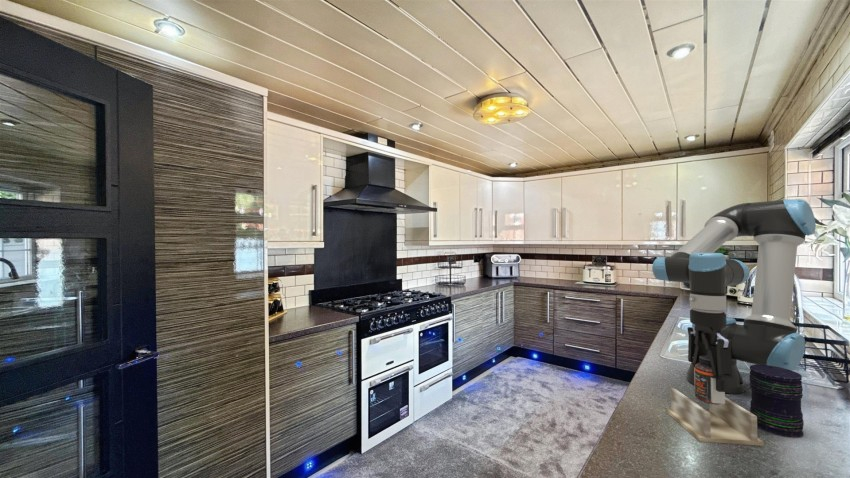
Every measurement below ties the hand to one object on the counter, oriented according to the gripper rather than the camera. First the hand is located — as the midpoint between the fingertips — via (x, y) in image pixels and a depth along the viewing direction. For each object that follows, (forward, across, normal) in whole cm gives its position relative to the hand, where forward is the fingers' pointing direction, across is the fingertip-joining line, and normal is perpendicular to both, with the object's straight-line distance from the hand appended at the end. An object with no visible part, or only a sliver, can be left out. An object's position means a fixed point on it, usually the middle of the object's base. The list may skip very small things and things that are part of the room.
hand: (709, 396), depth 90 cm
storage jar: (+8, -2, +17) cm, 19 cm away
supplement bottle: (+1, 0, 0) cm, 1 cm away
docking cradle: (+8, 0, 0) cm, 8 cm away
